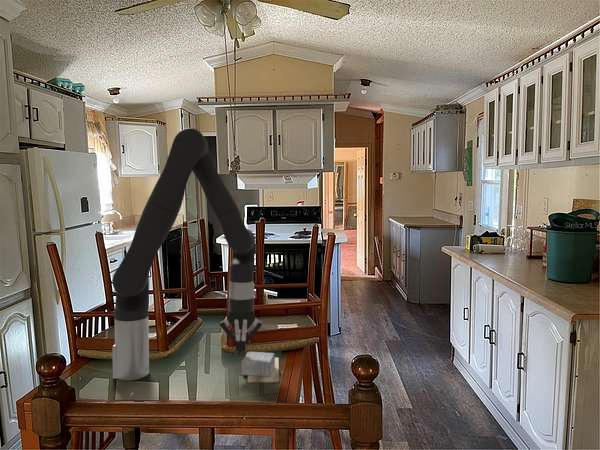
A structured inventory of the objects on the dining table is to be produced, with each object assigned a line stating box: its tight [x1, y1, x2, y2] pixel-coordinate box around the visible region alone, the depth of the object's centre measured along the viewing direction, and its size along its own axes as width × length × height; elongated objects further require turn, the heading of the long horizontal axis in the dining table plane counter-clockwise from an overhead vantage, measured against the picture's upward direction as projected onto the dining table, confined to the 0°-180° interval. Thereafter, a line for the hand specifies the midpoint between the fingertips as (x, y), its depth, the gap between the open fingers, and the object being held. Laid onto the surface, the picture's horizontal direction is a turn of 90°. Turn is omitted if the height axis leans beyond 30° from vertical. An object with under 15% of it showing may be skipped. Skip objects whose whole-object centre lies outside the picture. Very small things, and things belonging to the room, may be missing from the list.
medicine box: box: [241, 351, 276, 376], centre depth 132 cm, size 8×4×9 cm
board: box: [246, 357, 280, 384], centre depth 134 cm, size 9×18×1 cm, turn 4°
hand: (240, 352), depth 133 cm, fingers closed
